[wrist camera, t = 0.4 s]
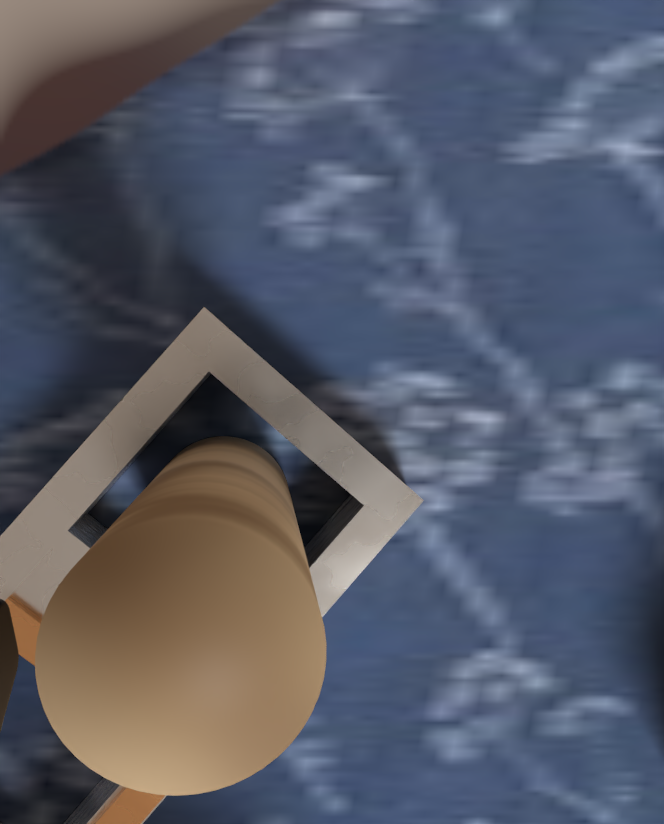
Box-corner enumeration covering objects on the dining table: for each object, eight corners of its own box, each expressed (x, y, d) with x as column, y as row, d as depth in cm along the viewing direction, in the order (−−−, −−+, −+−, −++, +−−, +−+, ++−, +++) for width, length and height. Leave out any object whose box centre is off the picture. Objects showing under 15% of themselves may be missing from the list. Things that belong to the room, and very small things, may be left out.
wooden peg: (230, 593, 24) (199, 848, 11) (127, 510, 24) (-29, 682, 11) (316, 494, 24) (382, 637, 12) (216, 408, 24) (168, 458, 11)
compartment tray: (45, 901, 24) (18, 970, 22) (-177, 748, 23) (-237, 801, 20) (406, 487, 25) (425, 502, 22) (209, 313, 23) (203, 306, 21)
